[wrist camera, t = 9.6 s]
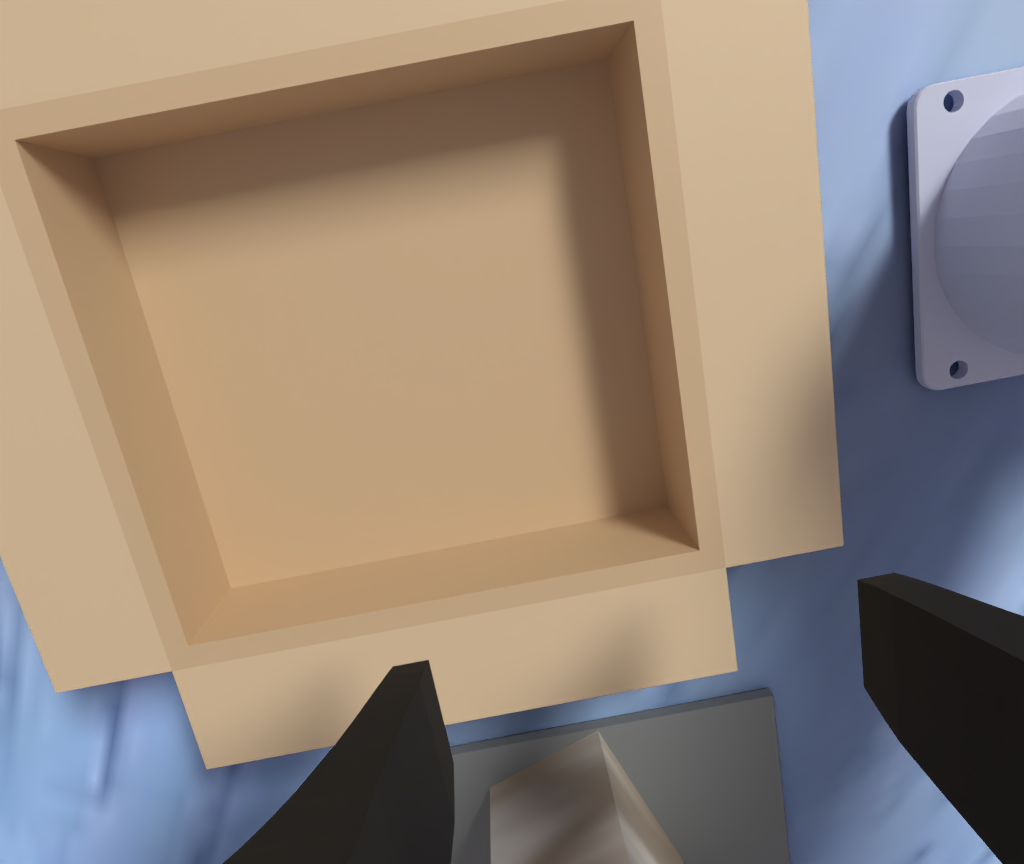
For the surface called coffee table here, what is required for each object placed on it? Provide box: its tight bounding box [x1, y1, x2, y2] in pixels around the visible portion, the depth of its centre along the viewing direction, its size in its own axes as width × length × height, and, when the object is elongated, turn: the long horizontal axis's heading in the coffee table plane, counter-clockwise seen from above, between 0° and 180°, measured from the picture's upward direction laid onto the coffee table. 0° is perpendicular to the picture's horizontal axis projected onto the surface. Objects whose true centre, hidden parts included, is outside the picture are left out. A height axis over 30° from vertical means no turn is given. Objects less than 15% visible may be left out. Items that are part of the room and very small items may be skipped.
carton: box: [0, 0, 844, 769], centre depth 18 cm, size 20×19×4 cm
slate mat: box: [450, 688, 790, 864], centre depth 24 cm, size 12×10×1 cm
